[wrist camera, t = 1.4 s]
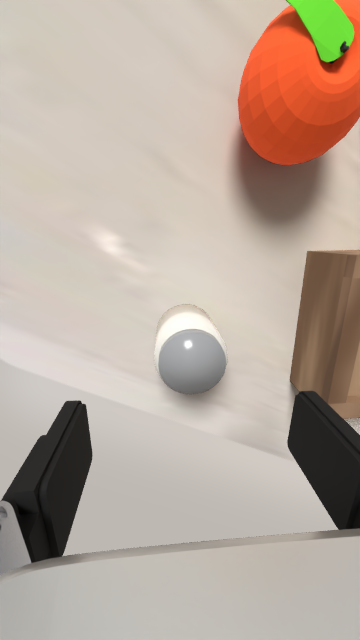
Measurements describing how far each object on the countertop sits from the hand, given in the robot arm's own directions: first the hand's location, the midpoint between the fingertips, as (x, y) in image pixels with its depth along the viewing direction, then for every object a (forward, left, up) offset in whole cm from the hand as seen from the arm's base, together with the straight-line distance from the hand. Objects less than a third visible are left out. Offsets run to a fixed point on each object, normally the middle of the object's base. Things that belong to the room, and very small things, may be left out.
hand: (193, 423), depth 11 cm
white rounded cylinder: (-1, 0, -11) cm, 11 cm away
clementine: (-6, -16, -12) cm, 21 cm away
